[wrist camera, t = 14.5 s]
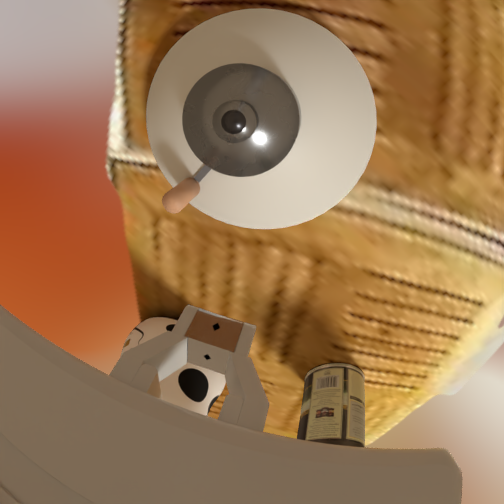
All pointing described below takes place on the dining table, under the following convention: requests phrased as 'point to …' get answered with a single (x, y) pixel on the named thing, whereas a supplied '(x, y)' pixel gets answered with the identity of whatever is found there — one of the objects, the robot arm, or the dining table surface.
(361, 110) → the crank wheel
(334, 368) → the coffee can
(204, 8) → the dining table surface
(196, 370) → the milk container
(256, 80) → the iron cover
